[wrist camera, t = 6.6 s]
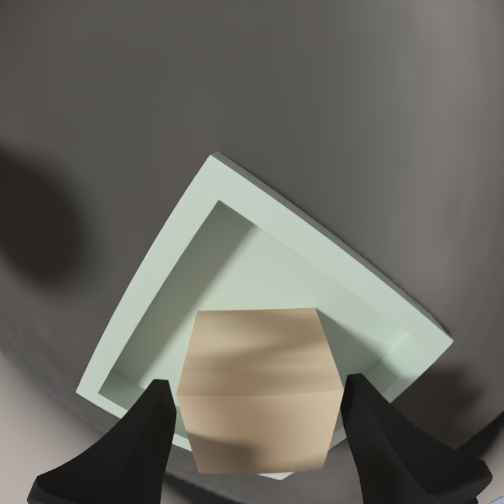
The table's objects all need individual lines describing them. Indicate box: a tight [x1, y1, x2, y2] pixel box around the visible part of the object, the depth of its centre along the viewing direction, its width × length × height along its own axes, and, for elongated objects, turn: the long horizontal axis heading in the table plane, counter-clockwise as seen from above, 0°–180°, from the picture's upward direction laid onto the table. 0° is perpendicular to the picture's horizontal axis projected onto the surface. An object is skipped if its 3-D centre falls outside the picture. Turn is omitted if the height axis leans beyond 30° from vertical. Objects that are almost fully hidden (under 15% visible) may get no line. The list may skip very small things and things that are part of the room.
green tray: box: [76, 152, 453, 480], centre depth 14 cm, size 13×13×2 cm
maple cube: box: [176, 307, 344, 474], centre depth 12 cm, size 5×5×5 cm
